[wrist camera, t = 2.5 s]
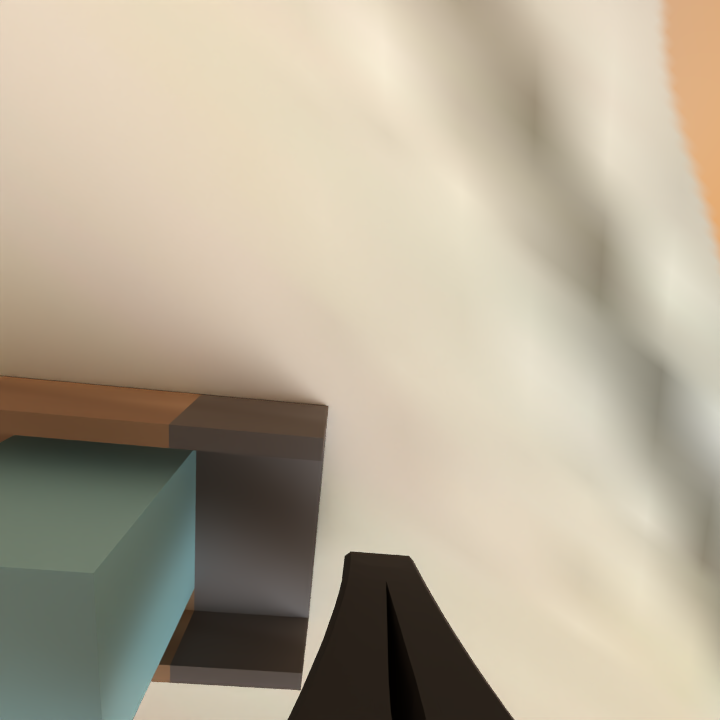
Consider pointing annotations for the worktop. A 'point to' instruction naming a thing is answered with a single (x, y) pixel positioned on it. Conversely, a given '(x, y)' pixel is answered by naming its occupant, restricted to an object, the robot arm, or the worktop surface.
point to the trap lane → (214, 514)
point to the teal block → (90, 573)
